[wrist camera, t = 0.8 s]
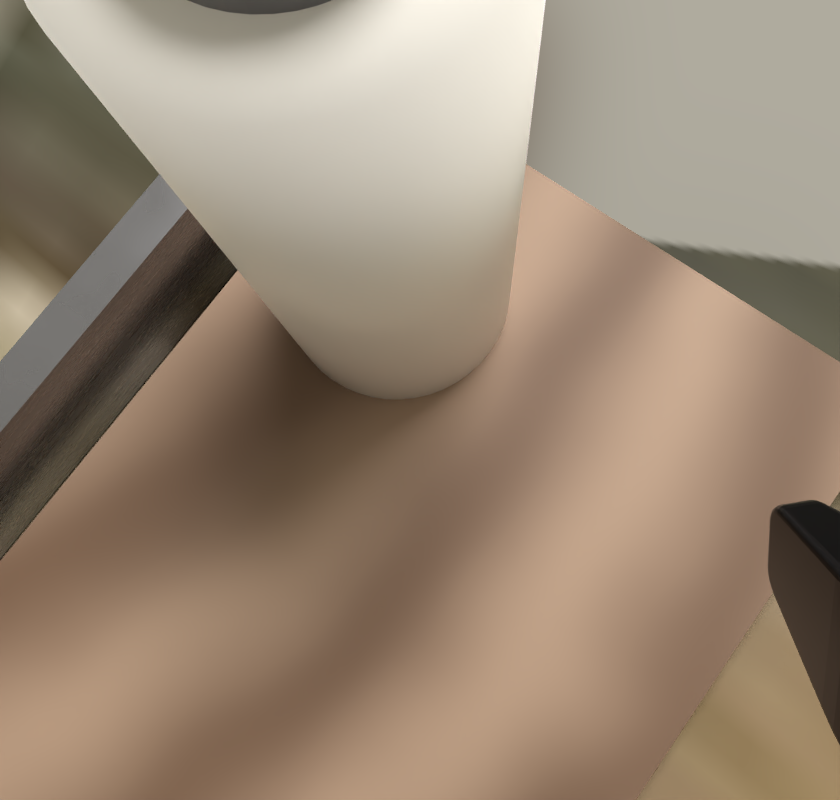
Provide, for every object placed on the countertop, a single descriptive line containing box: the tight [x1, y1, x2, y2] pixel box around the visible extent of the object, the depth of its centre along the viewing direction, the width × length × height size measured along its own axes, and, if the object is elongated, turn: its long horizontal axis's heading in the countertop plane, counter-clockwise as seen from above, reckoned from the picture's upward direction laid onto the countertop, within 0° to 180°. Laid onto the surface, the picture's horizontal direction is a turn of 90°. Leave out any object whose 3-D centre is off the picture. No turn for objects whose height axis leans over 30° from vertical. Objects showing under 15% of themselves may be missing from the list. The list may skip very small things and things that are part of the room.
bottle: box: [24, 0, 546, 400], centre depth 14 cm, size 6×6×14 cm
